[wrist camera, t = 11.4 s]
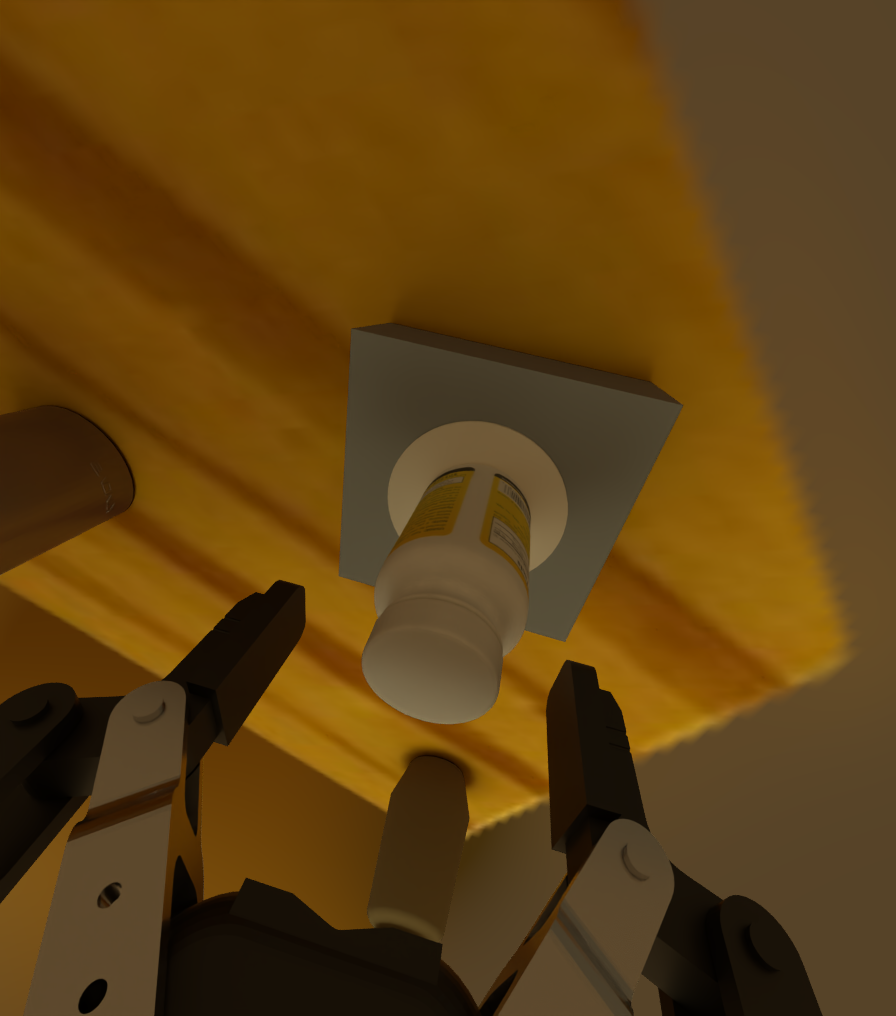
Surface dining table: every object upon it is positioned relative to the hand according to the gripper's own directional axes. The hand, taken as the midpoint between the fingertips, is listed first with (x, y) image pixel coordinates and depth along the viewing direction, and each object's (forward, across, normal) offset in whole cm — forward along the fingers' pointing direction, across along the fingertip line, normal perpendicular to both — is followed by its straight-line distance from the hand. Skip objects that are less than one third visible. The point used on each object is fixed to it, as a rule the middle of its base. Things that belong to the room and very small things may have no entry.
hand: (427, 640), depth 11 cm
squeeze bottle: (+14, -3, +35) cm, 38 cm away
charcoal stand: (+14, 0, 0) cm, 14 cm away
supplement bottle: (+9, 0, 0) cm, 9 cm away
